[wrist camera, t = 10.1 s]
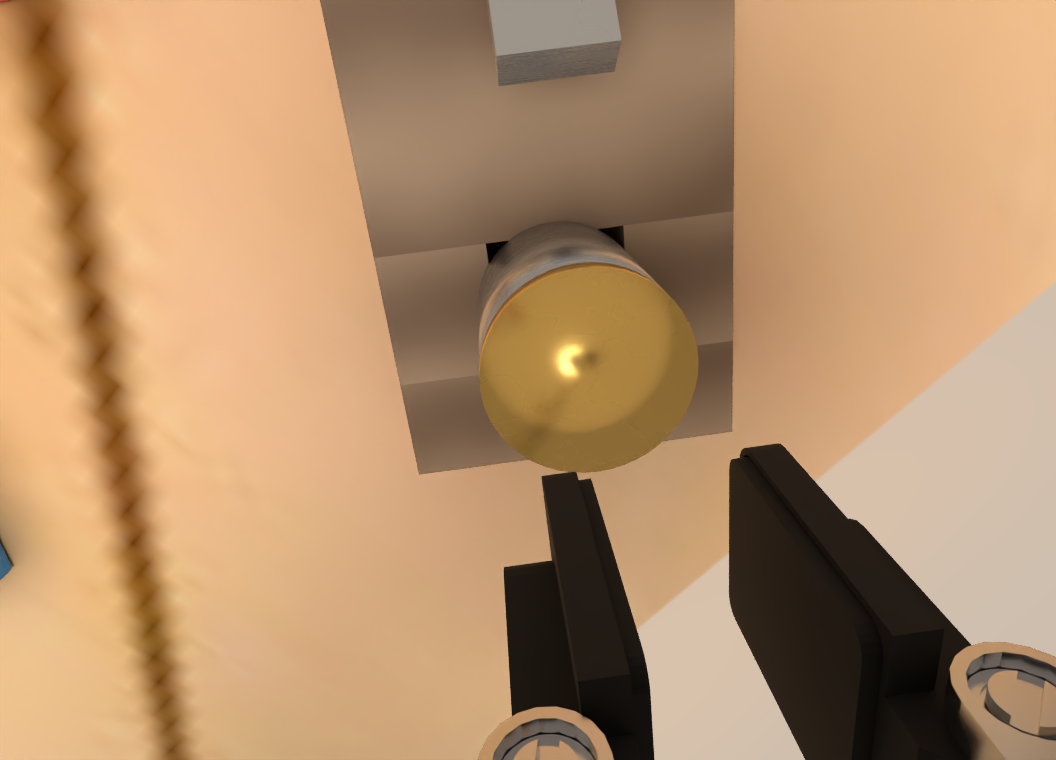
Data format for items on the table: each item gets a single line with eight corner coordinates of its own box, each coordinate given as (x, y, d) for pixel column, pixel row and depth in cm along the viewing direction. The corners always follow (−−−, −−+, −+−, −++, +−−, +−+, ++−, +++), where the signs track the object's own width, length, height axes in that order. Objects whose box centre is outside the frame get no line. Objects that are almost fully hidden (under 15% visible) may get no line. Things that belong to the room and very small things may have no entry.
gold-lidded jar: (608, 191, 27) (696, 253, 16) (617, 324, 29) (700, 457, 18) (468, 209, 26) (463, 284, 16) (488, 341, 29) (495, 485, 18)
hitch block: (689, 376, 31) (752, 457, 24) (428, 411, 30) (414, 504, 23) (676, -238, 22) (768, -393, 15) (310, -196, 22) (233, -332, 15)
